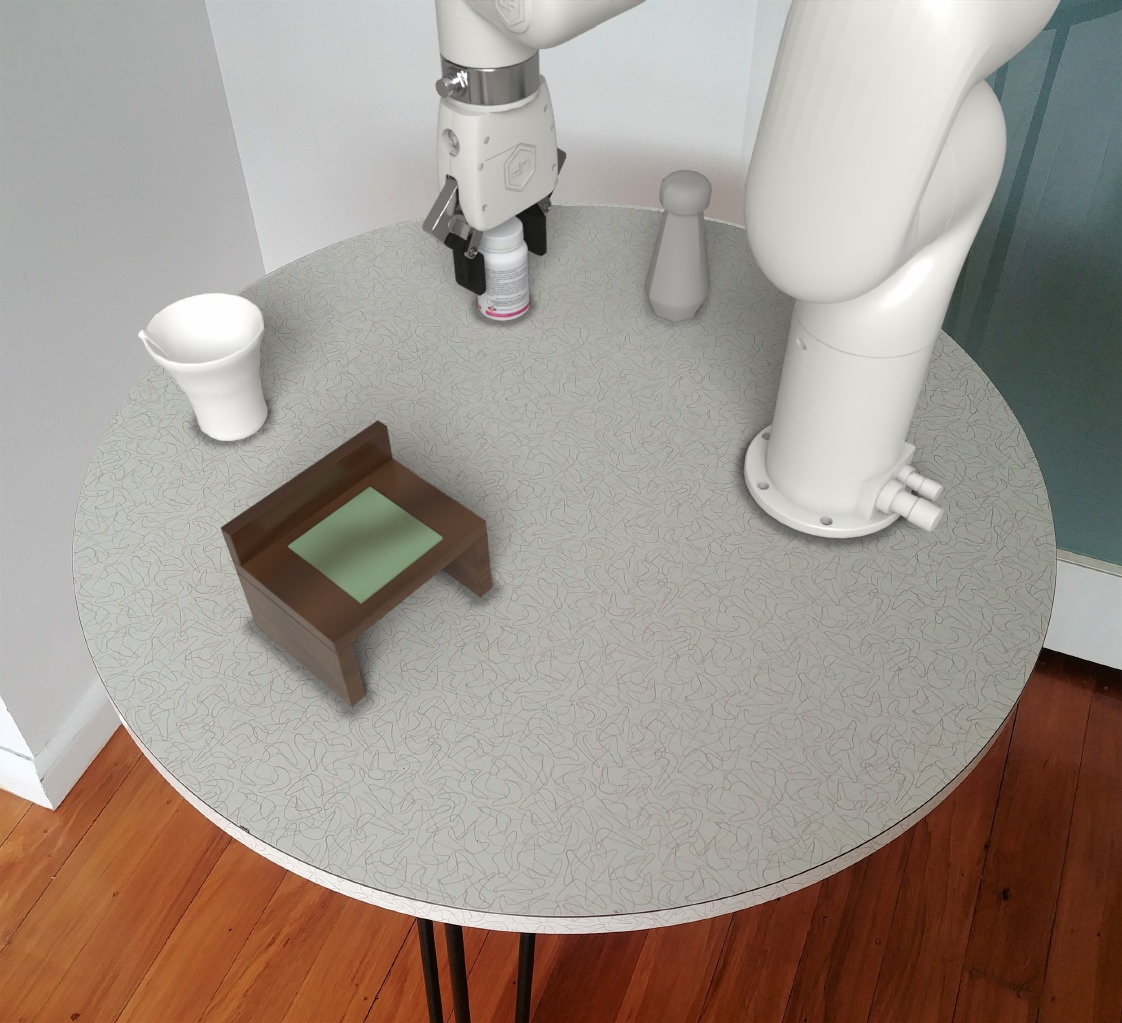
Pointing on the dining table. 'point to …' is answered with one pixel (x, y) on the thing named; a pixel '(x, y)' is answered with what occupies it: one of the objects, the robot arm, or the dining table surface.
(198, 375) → the cup
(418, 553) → the shelf
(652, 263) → the salt shaker
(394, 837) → the dining table surface
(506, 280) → the pill bottle
